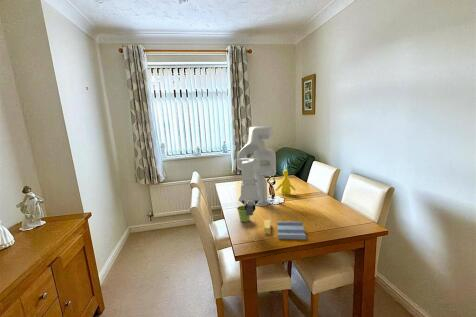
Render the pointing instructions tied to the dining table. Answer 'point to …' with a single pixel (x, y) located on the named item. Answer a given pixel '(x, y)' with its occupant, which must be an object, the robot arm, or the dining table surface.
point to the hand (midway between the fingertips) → (250, 210)
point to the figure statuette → (285, 185)
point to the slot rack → (291, 230)
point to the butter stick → (267, 227)
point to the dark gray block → (249, 208)
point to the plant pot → (243, 214)
